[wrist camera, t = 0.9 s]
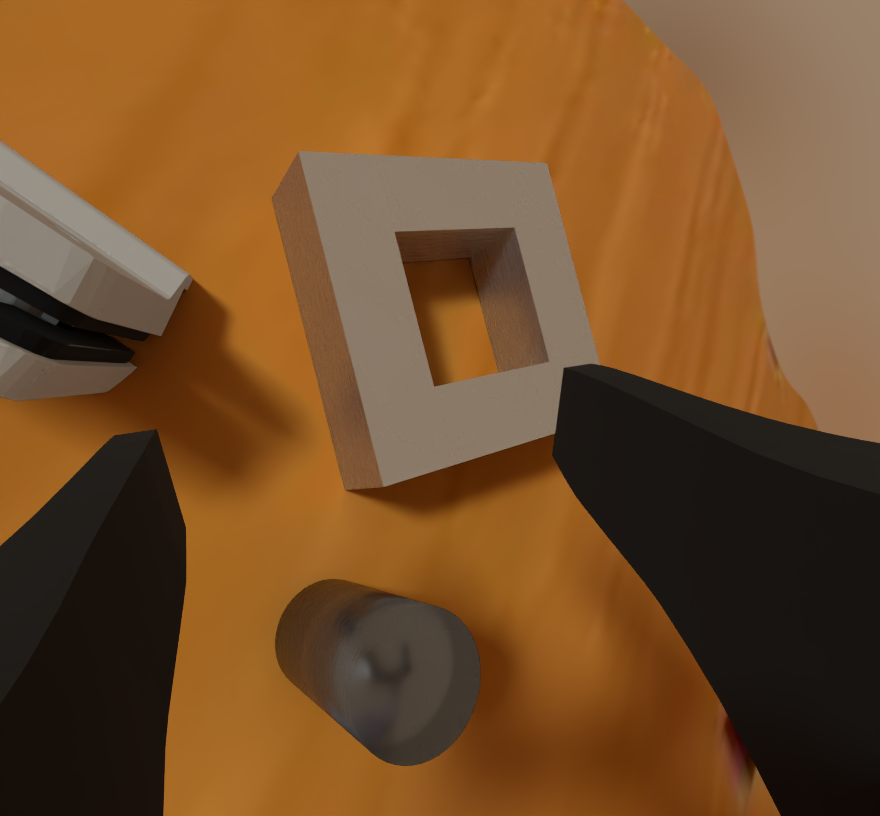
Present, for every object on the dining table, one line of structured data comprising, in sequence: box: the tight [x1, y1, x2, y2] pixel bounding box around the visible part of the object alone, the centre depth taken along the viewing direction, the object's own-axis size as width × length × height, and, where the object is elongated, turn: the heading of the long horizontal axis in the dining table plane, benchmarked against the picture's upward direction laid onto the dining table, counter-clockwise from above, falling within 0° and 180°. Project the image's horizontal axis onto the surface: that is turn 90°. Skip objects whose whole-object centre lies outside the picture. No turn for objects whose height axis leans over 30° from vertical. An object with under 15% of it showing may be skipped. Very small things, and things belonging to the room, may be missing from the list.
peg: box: [275, 579, 481, 766], centre depth 18 cm, size 4×4×7 cm
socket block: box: [272, 151, 600, 490], centre depth 24 cm, size 12×12×4 cm
